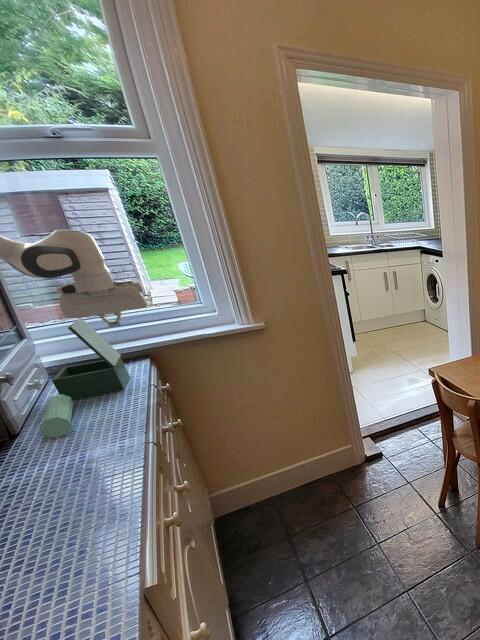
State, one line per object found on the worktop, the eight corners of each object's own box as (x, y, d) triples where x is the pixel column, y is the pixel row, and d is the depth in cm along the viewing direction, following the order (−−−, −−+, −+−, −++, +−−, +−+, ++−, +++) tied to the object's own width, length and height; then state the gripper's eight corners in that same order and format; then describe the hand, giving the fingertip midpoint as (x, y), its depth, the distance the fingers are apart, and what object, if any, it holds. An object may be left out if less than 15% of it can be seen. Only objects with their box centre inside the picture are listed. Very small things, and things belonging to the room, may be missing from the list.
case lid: (67, 327, 124) (70, 326, 124) (78, 318, 134) (81, 317, 135) (111, 367, 133) (114, 366, 133) (118, 356, 143) (121, 355, 143)
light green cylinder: (47, 390, 122) (39, 416, 105) (76, 391, 127) (73, 416, 110) (46, 409, 123) (38, 438, 106) (75, 410, 127) (71, 437, 110)
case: (64, 402, 129) (51, 380, 126) (74, 388, 139) (63, 367, 136) (124, 390, 136) (113, 368, 133) (130, 377, 146) (120, 357, 143)
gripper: (139, 277, 137) (156, 318, 142) (54, 287, 127) (76, 330, 132) (136, 280, 132) (154, 322, 138) (48, 290, 122) (71, 334, 128)
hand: (115, 326), depth 135 cm, fingers closed
